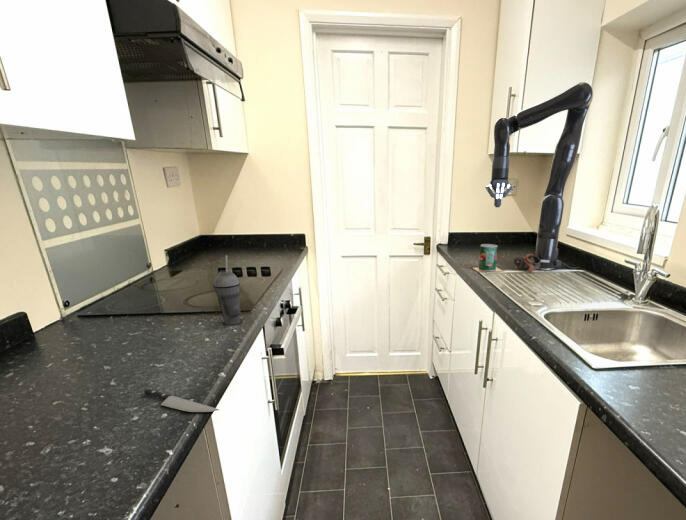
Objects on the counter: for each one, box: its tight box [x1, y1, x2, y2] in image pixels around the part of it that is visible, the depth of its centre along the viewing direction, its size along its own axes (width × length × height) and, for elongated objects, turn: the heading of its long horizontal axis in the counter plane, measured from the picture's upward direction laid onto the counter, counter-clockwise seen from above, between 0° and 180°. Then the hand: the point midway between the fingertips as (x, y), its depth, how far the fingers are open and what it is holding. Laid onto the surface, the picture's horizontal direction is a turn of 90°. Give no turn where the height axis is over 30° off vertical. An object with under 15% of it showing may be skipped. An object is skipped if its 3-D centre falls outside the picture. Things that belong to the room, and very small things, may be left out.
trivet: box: [472, 266, 504, 273], centre depth 192 cm, size 12×9×1 cm
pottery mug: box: [513, 253, 541, 273], centre depth 189 cm, size 12×10×8 cm
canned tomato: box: [478, 243, 499, 272], centre depth 190 cm, size 8×8×11 cm
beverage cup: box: [212, 254, 242, 326], centre depth 120 cm, size 7×7×20 cm
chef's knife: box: [144, 388, 220, 413], centre depth 79 cm, size 19×1×3 cm
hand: (497, 207), depth 194 cm, fingers closed
